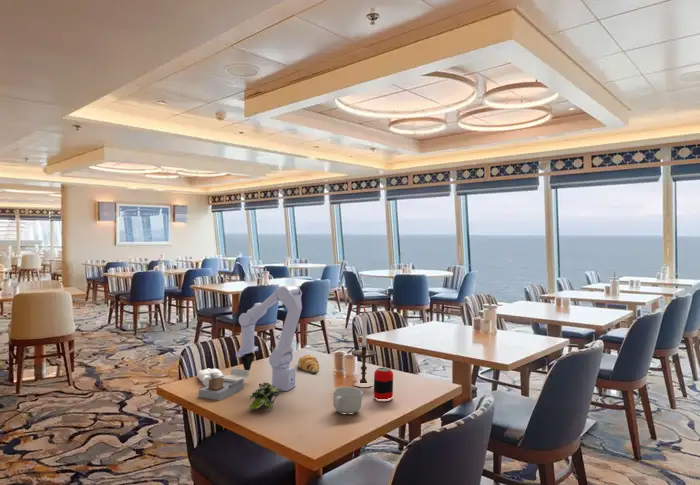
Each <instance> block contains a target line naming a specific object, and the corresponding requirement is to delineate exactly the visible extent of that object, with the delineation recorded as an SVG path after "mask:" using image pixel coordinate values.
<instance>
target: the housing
mask: <svg viewBox="0 0 700 485" xmlns="http://www.w3.org/2000/svg"><path fill="white" fill-rule="evenodd" d="M222 377H224V376H222ZM222 377H220V378H222ZM244 381H245V380H244V379H241V380H239V381H237V382H230V381H223V389H220V390H218V391H212V390H209V385H208V386H203V387H201V388H199V389H198V398H203V399H208V400H214V401H222V400H223V399H225V398H227V397H230V396H231V395H234V394H236V393H238V392H240V391H241V390H244Z"/></svg>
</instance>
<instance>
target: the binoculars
mask: <svg viewBox="0 0 700 485" xmlns="http://www.w3.org/2000/svg"><path fill="white" fill-rule="evenodd" d="M222 372H223V371H221V370H220V369H219V368H209V367H208V368H205V369H202V370H198V372H197V378H198V379H199V381H200V382H201V383H202V384H203V386H204V387H206V386H208V385H209V379H211V378H212V376H214V375H219V376H220V377H222V376H224V377H225V376H226V375H224V373H222Z"/></svg>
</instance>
